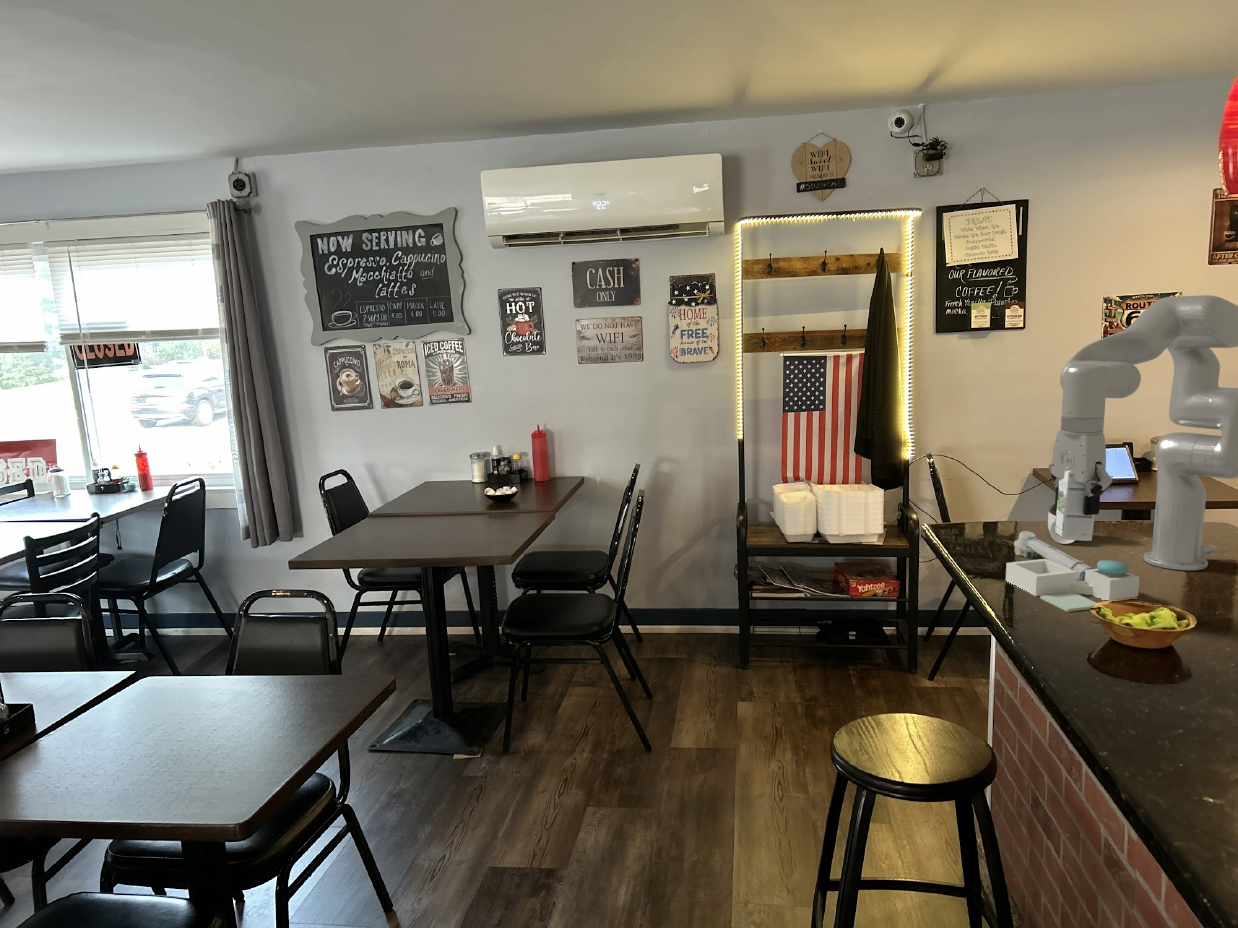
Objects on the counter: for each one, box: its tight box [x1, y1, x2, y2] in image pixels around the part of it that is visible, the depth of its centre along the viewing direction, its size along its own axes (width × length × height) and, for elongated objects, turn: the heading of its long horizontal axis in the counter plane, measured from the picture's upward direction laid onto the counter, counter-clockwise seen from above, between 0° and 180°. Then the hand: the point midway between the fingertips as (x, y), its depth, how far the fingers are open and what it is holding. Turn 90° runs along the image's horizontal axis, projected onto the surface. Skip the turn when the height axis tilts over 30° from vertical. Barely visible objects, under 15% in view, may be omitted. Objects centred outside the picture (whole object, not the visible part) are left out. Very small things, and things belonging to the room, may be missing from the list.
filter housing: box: [1005, 558, 1141, 601], centre depth 171 cm, size 18×18×5 cm
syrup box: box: [1055, 471, 1096, 542], centre depth 160 cm, size 6×6×14 cm
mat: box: [1039, 592, 1098, 613], centre depth 164 cm, size 8×8×1 cm
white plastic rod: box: [1013, 530, 1094, 581], centre depth 187 cm, size 5×7×25 cm
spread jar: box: [1047, 502, 1080, 545], centre depth 207 cm, size 12×11×12 cm
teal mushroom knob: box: [1096, 559, 1129, 578], centre depth 167 cm, size 6×6×6 cm
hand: (1076, 509), depth 160 cm, fingers closed on syrup box, 7 cm apart
